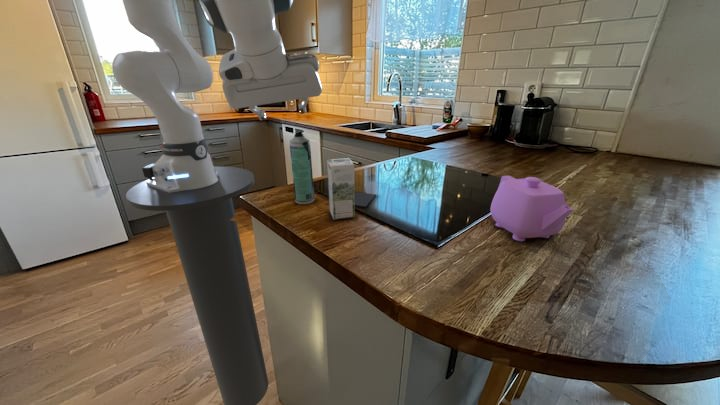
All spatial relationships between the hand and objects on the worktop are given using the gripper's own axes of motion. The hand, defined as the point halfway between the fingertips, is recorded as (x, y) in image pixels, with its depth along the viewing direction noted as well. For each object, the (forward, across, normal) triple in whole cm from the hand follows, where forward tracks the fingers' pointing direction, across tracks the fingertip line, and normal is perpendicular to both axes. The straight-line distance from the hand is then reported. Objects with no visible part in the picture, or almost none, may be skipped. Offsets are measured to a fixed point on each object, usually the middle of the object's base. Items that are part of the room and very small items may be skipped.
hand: (283, 115), depth 70 cm
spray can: (+25, +1, +7) cm, 26 cm away
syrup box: (+21, -9, +17) cm, 28 cm away
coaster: (+26, -14, +9) cm, 31 cm away
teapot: (+18, -50, +31) cm, 62 cm away
